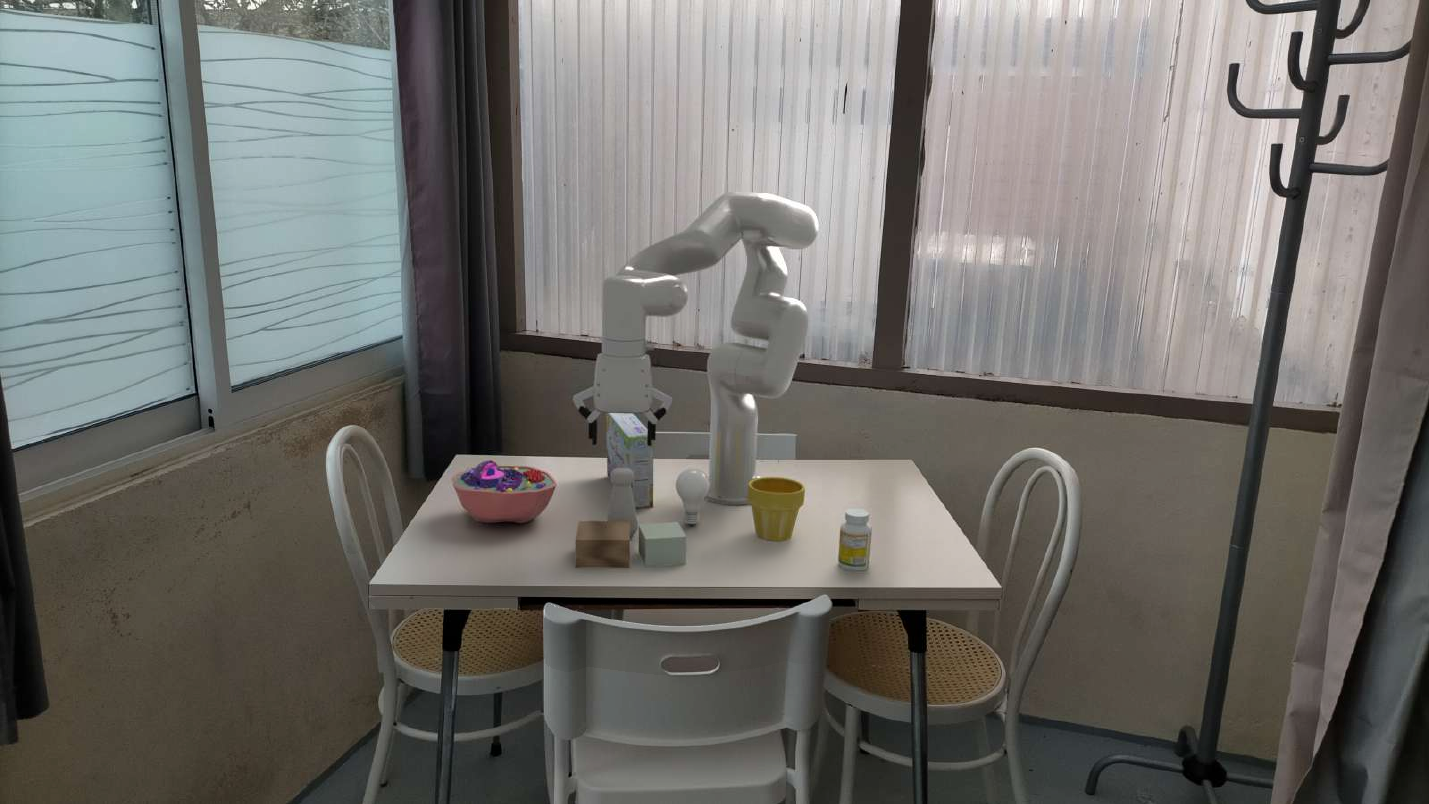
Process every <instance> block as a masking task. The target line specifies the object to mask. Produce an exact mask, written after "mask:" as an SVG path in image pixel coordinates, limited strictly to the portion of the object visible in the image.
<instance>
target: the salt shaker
mask: <svg viewBox="0 0 1429 804" xmlns="http://www.w3.org/2000/svg"><path fill="white" fill-rule="evenodd" d="M610 480H611V481H610ZM609 481H610V483H611V484H612V483H613V484H612V490H611V496H610V501H609V507H608V512H607V516H606V521H630V542H632V541H633V540H632V539H633V538H634V536H635V534H636V533H637V531H638V530H639V523H638V517H637V512H636V509H635V505H634V499H633V494H632V488H631V484H632V483H633V482H634V472H633V471H632V470H631V469H628V468H617V469H614V470H612V471H611V474H610V479H609Z"/></svg>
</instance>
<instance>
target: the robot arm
mask: <svg viewBox="0 0 1429 804" xmlns="http://www.w3.org/2000/svg"><path fill="white" fill-rule="evenodd" d="M818 232H819V221H818V218H817V215H816V213H815V212H814V211H813V210H812V209H811V208H810V207H809V206H807V205H805V204H801V203H800V202H796V201H792V200H790V199H787V198H784V197H781V196H778V195H775V194H771V193H764V192H753V191H752V192H751V191H738V190H737V191H736V190H735V191H729V192H725V193H723V194H720V196H718V197H717V198H716V199H715V201H714V202H712V204H710V205H709V206H708V207H707V208H705V210H704V211H703V212H702V213H701V214H700V215H699V216H698V217H697V218H696V219H695V220H694V221H693V222H691V224H689V226H688V227H687V228H686V229H684V230H683V231H680V232H679V233H676V234H675V233H674V234H673V235H671V236H669V237H666V238H664V239H662V240H660V241H658V242H655V243H653V244H650V245H649V246H646V247H645V248H643V249H641V251H638V252H637V253H636V254H634V255H633V257H631V258H630V259H629V260H628V261H627V262H626V263H625V264H623V266H622V267H621V269H619V271H618V272H616V275H612V276H611V275H610V276H608V277H606V278H605V279H604V280H603V283H602V300H601V301H602V307H601V308H602V312H601V313H602V314H601V317H602V318H601V319H602V320H601V321H602V323H601V325H602V326H601V327H602V328H601V352H600V353H598V354H597V357H596V360H595V361H596V362H595V367H594V380H593V386H591V387H589V388H587V389H585V390H583V391H579V392H578V393H576V394H574V395H573V397H572V401H573V404H574V405H575V408H576V409H577V411H578V413H579V414H580V415H581V416H582V417H583V418H584V419H585V420H586V421H587V423H588V440H592V442H591V443H592V446H595V445H597V443H598V420H597V418H598V417H599V416H600V415H601V414H602V413H603V414H604V413H605V414H606V413H633V414H644V415H645V417H646V419H648V420H647V429H648V431H647V445H648V446H651V441H652V440H653V441H656V435H657V434H656V433H657V431H656V429H657V426H656V425H657V424H658V422H659V421H660V420H661V419H662V418H663V417H665V415H666V414H667V412H668V410H669V409H670V407H671V405H672V403H673V397H671V396H670V395H668V394H666V393H664V392H663V391H660V390H658V389H656V388H655V387H653V375H652V363H651V358H650V355H649V354H646V353H647V352H648V351H650V350H651V351H654V347H655V342H654V341H648V339H646V338H647V337H646V335H647V318H649V317H659V318H661V317H662V318H668V317H672V316H675V315H677V314H679V313H680V312H681V311H682V310H684V308H685V307H686V305H687V303H688V298H689V293H688V288H687V286H686V284H685V283H684V281H682V279H680V278H679V277H677V276H678V275H679V276H680V275H685V274H691V273H696V272H700V271H703V270H704V271H705V270H707V269H710V268H713V267H714V266H716V265H717V264H719V262H720V261H722V259H723V258H724V257H725V256H726V255H727V254H728V253H729V252H730V251H731V249H733V247H734V246H736V245H737V244H738V243H739V242H740V240H741V242H742V244H743V248H744V251H745V252H744V253H745V256H746V268H745V274H744V277H743V279H742V283H741V286H740V289H739V292H738V295H737V298H736V301H735V304H734V306H733V310H732V314H731V316H730V317H731V318H730V328H731V331H732V332H733V333H734V334H735V335H736V336H738V337H739V338H742V339H745V340H750V341H753V342H754V341H755V342H759V343H766V344H767V347H761V346H756V345H752V344H747V343H739V342H733V341H731V342H724V343H720V344H718V345H716V346H715V347H714V348H713V349H712V350H711V351H710V353H709V355H708V358H707V362H706V363H707V365H706V371H707V378H708V379H707V380H708V385H709V391H710V392H709V393H710V425H709V426H710V427H709V428H710V431H709V462H708V464H709V465H708V479H709V482H710V489H709V492H708V494H707V496H706V497H705V498H704V500H707V501H709V502H712V503H717V504H722V505H731V506H732V505H734V506H735V505H747V504H750V503H749V502H748V484H749V482H750V481H751V480H753V479H756V478H762V477H761V476H759V475H758V474H757V472H756V471H757V470H756V462H757V445H758V444H757V442H758V441H757V440H758V423H759V411H758V406H757V403H756V400H755V397H761V398H766V399H777V398H780V397H782V396H783V395H784V394H785V393H786V392H787V390H788V389H789V387H790V384H791V383H792V380H793V377H794V374H795V372H796V368H797V365H798V363H799V359H800V356H801V354H802V350H803V348H804V344H805V341H806V338H807V334H808V329H809V314H808V310H807V308H806V305H805V304H803V302H802V301H800V300H799V299H796V298H793V297H790V296H783V295H784V292H785V288H786V285H787V282H788V268H787V265H786V262H785V260H784V256H783V254H782V253H781V250H780V249H789V250H805V249H807V248H809V247H810V246H811V245H813V243H814V242H815V240H816V238H817V236H818ZM754 396H755V397H754ZM591 397H593V408H592V409H591V410H590V409H589V408H588V407H587V406H586V405H585V403H584V400H586V399H588V398H591ZM653 398H655V399H657V400H658V401H660V402H662V404H661V406H660V407H659V408H658V409H657V410H656V411H654V409H652V402H653Z"/></svg>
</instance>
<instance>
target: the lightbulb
mask: <svg viewBox="0 0 1429 804" xmlns="http://www.w3.org/2000/svg"><path fill="white" fill-rule="evenodd" d="M675 481H676V482H675V491H676V493H677V495H678V496H679V498H680V499H681V501H682V506H683V509H684V523H685V524H687V525H689V526H695V525H697V524H699V522H700V521H699V519H700V510H701V508H702V504H703V502H704V500H705V497H706V496H707V494H708V492H709V489H710V482H709V476H708V475H707V474H706V473H705V472H704V471H703V470H701V469H699V468H695V467H693V468H690V467H689V468H686V469H684V470H683V471H682V472H680V473H679V474H678V476H677V478H676V480H675Z"/></svg>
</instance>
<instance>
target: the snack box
mask: <svg viewBox="0 0 1429 804" xmlns="http://www.w3.org/2000/svg"><path fill="white" fill-rule="evenodd" d="M605 422H606V423H605V424H606V426H605V428H606V468H607V470H606V471H607V473H606V475H607V478H608V480H609V481H610V482H611V480H610V474H611V471H612V470H614V469H617V468H628V469H631V470H632V471H633V472H634V482H633V483H632V484H631V488H632V494H633V499H634V505H635V510H636V509H637V510H638V509H645V508H646V509H647V508H653V507H654V440H652V441H651V446H648V445H647V431H648V427H646V426H645V425H644V424H643V423H642V422H641V421H640V420H639V419H638V417H637V416H636V415H635V413H605ZM611 484H612V485H613V483H611Z"/></svg>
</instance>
